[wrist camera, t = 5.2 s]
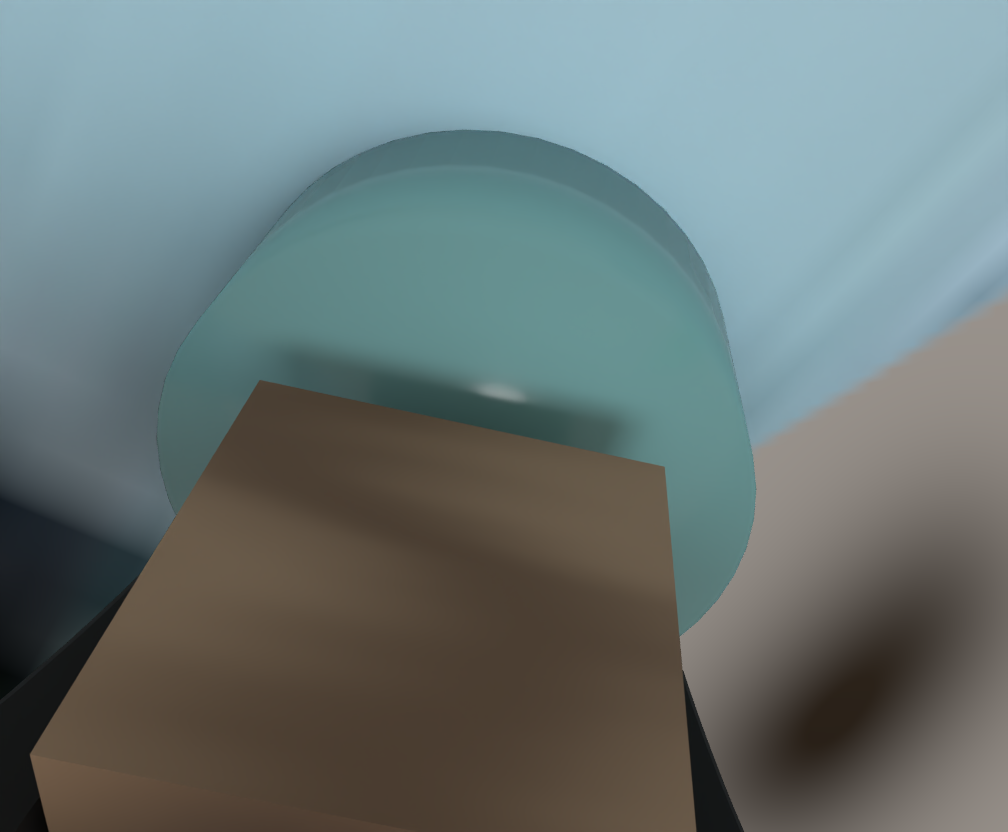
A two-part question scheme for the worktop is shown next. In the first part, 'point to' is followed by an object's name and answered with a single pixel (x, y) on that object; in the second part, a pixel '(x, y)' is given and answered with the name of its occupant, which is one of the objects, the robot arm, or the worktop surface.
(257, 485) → the walnut cube
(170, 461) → the teal puck
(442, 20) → the worktop surface
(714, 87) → the worktop surface
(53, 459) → the worktop surface
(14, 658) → the worktop surface
